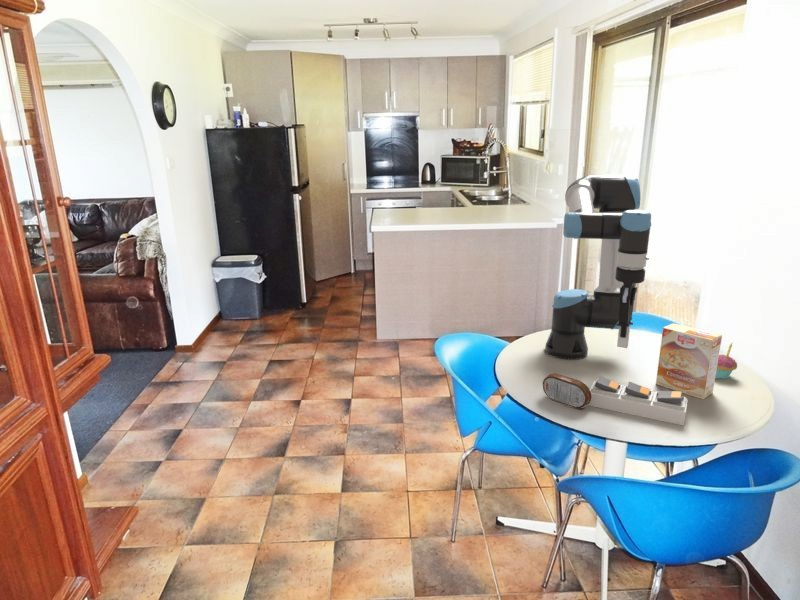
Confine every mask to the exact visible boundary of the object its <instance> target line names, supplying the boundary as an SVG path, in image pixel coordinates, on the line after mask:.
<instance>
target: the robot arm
mask: <svg viewBox="0 0 800 600" xmlns="http://www.w3.org/2000/svg"><path fill="white" fill-rule="evenodd" d="M564 199H565V200H564V201H565V203H566V206H567V207H568V211H569V212H566V213H565V214H564V216H563V227H562V229H563V231H562V232H563V233H562V235H563V236H564V237H565V238H567V239H568V238H569V239H574V240H577V239H583V240H584V239H587V240H588V239H591V240H593V239H594V240H596V239H597V240H601V246H600V247H601V248H600V262H599V275H598V286H597V287H595V289H593V294H592V295H591V294H589V293H588V291H587V290H584V289H580V288H579V289H577V288H575V289H574V288H572V289H566V290H565V289H564V290H560V291H558V292H557V293H555V294H554V297H553V300H552V301H553V302H552V307H551V308H552V316H551V330H550V333H549V336H548V338H547V340H546V342H545V346H544V347H545V348H544V350H545V351H544V352H545V353H546V354H547V355H548V356H551V357H552V358H553V357H554V358H556V359H562V360H579V359H580V358H581V359H584V358H586V357H587V356H588V351H589V347H588V343H587V340H586V335H585V328H595V329H610V330H611V331H612V330H618V333H617V335H618V336H617V345H616V347H617V348H624V349H628V347H629V339H630V330H631V326H633V324H634V322H633V321H632V320H633V312H634V311H633V310H634V303H635V301H636V294H637V291H638V286H636V284H641V283H644V282H645V278H646V277H645V276H646V269H645V267H646V265H647V261H649V259H650V257H649V256H647V255H648V250H649V249H648V248H649V241H650V234H651V227H652V213H651V212H650V211H648V210H643V209H640V207H641V206H640V205H641V187H640V182H639V179H638V177H636V176H635V175H630V174H629V175H628V174H590V175H589V174H588V175H586V176H583V177H580V178H577V179H576V180H574V181H573V182H572V183H570V185H569V186H568V187H567V188H566V191H565V193H564ZM595 209H599V210H598V212H595Z"/></svg>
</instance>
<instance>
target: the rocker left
mask: <svg viewBox="0 0 800 600" xmlns="http://www.w3.org/2000/svg"><path fill="white" fill-rule="evenodd" d="M596 380H597V382H596V384H595V387H597V388H600V389H602V390H604V391H608V392H613V393H616V391H617V389H618V386H619V385H620V383H618V382H616V381H614V380H611V379H608V378H606V377H604V376H602V375H599V376H598V378H597V379H596Z"/></svg>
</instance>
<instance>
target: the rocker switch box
mask: <svg viewBox="0 0 800 600" xmlns="http://www.w3.org/2000/svg"><path fill="white" fill-rule="evenodd" d="M597 380H598V379H594V381H593V382H592V385H591V387H590V388H589V390H590V392H591V401H590V403H589V404H588V405H587V406H589V407H595V408H598V409H599V408H600V409H604V410H608V411H613V412H618V413H624V414H628V415H632V416H637V417H642V418H647V419H651V420H656V421H661V422H666V423H670V424H675V425H680V426H685V419H686V413H687V407H688V398H687V397H686V396H683V395H682V403H681V404H674V403H664V402H659V401H657V396H658V392H659V391H655V390H651V389H650V392H649V395H648V398H647V399H644V398H639V397H635V396H632V395H630V394H627V393H625V391H626V389H627V386H628V385H623V384H619V386H618V389H617V391H616V393H613V392H608V391H604V390H602V389H600V388H597V387H595V384H596V382H597ZM654 391H655V392H654Z"/></svg>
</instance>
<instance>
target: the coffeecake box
mask: <svg viewBox="0 0 800 600" xmlns="http://www.w3.org/2000/svg"><path fill="white" fill-rule="evenodd" d="M722 338H723V335H722V334H719V333H715V332H712V331H711V332H710V331H708V330H707V331H706V330H703V329H699V328H695V327H690V326H687V325H682V324H679V323H678V324H677V323H674V322H673V323H670V324H669V325H666V326H663V328H662V332H661V339H660V340H661V342H660V350H659V355H658V356H659V357H658V363H657V365H658V366H657V371H656V372H657V373H656V378H655V379H656V380H655V385H658V386H661V387H663V386H664V388H667V389H668V390H669V389H670V390H672V391H682V394H685V395H688V396H692V397H695V398H697V399H699V400H705V399H706V398H707V397H709V396H711V395H712V394H713V392H714V387H715V381H716V380H715V379H716V377H715V376H716V370H717V364H718V357H719V355H720V352H721V345H722Z"/></svg>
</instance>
